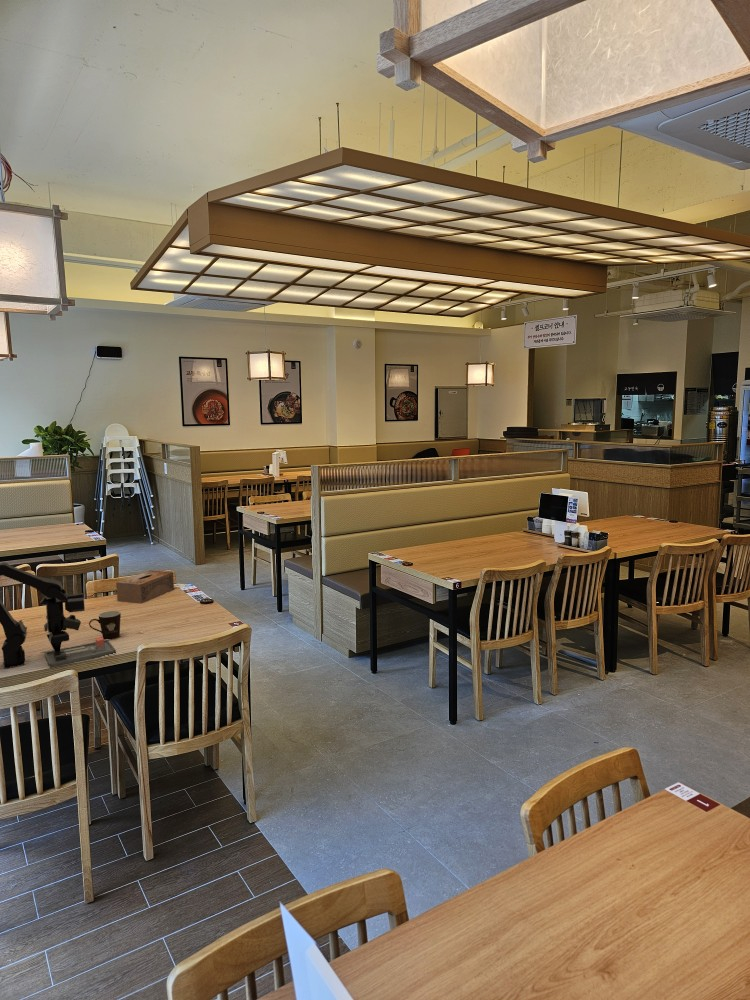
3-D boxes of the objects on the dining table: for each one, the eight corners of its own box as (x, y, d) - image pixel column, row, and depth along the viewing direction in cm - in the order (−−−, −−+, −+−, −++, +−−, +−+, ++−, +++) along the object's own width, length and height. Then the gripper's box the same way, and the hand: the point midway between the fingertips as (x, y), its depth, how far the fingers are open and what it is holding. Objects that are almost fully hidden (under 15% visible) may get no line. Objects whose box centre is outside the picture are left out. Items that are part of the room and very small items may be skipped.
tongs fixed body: (55, 661, 233) (55, 656, 232) (54, 658, 236) (53, 652, 236) (105, 651, 243) (105, 645, 242) (103, 647, 246) (103, 642, 246)
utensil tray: (49, 668, 229) (49, 663, 228) (44, 656, 240) (44, 652, 240) (116, 653, 242) (115, 649, 241) (108, 643, 253) (107, 639, 253)
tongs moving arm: (54, 658, 235) (53, 653, 235) (54, 656, 237) (53, 651, 237) (85, 652, 241) (85, 647, 241) (85, 651, 243) (84, 645, 242)
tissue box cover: (151, 588, 336) (150, 570, 335) (174, 590, 331) (173, 572, 330) (117, 601, 312) (116, 582, 310) (141, 604, 307) (139, 584, 306)
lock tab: (97, 646, 241) (97, 640, 241) (95, 644, 244) (95, 638, 244) (104, 645, 242) (103, 639, 242) (102, 642, 245) (101, 636, 245)
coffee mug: (125, 633, 265) (123, 610, 264) (117, 640, 256) (116, 616, 255) (97, 633, 265) (96, 611, 263) (89, 641, 256) (87, 617, 255)
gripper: (82, 616, 233) (85, 656, 235) (74, 604, 249) (76, 641, 251) (49, 622, 227) (52, 663, 229) (42, 608, 242) (45, 647, 244)
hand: (57, 653), depth 238 cm, fingers closed
